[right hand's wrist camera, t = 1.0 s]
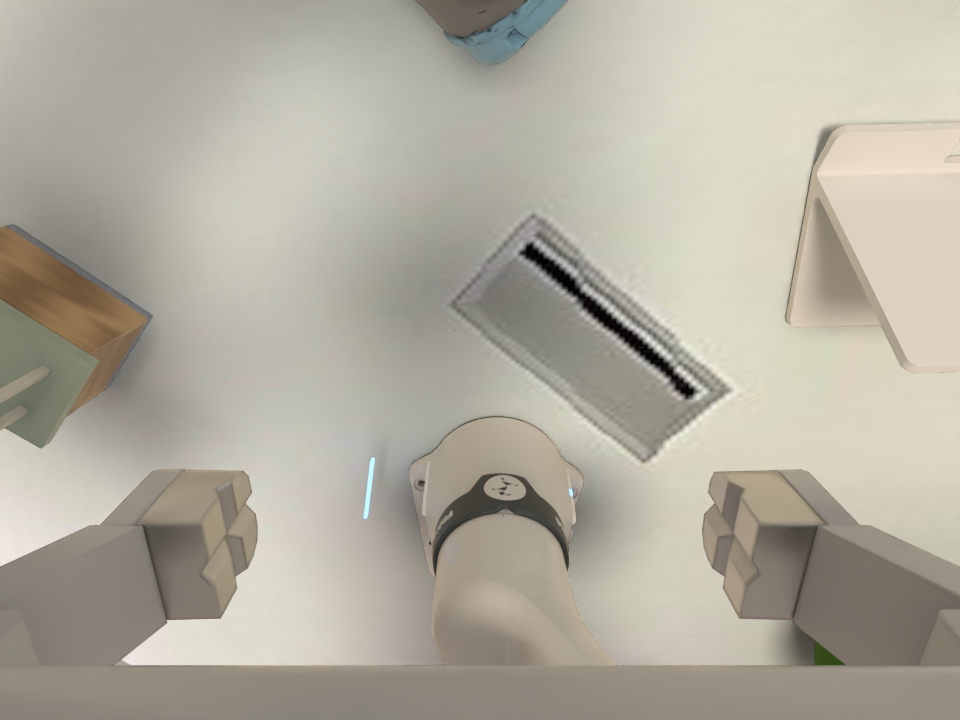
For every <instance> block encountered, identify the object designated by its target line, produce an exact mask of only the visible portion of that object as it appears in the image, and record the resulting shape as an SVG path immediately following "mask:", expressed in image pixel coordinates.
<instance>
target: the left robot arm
mask: <svg viewBox="0 0 960 720" xmlns="http://www.w3.org/2000/svg"><path fill="white" fill-rule="evenodd" d="M416 1H417V2H418V3H419V4H420V5H421V6H422V7H423V8H424V9H425V10H426V11H427V13H428V14H429V15H430V16H431V17H432V18H433V19H434V20H435V21H436V22H437V23H438V24H439V25H440V26H441V27H442V28H443V29H444V34H445V35H446V37H447V38H448V39H449V40H450V42H451V43H453V44H455V45H458V46H461V47H462V48H463V49H464V50H465V51H466V52H468V53H469V54H470V55H471V56H472V57H473V58H474V59H475V60H476V61H478V62H479V63H481V64H484V65H497V64H500V63H502V62H504V61H505V60H507V59H508V58H510V57H511V56H512V55H513V54H515V53H516V52H517V51H518V50H519V49H520V48H521V47H522V46H523V45H524V44H525V43H526V42H527V40H528V39H529V38H530V37H531V36H533V35H534V34H535V33H536V32H538V31H539V30H540V29H541V28H542V27H543V26H544V25H545V24H546V23H547V22H548V21H549V20H550V19H551V18H552V17H553V16H554V15H555V14H556V13H557V12H558V11H559V9H560V8H561V7H562V6H563V5H564V4H565V3H566V2H567V1H568V0H416Z"/></svg>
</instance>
